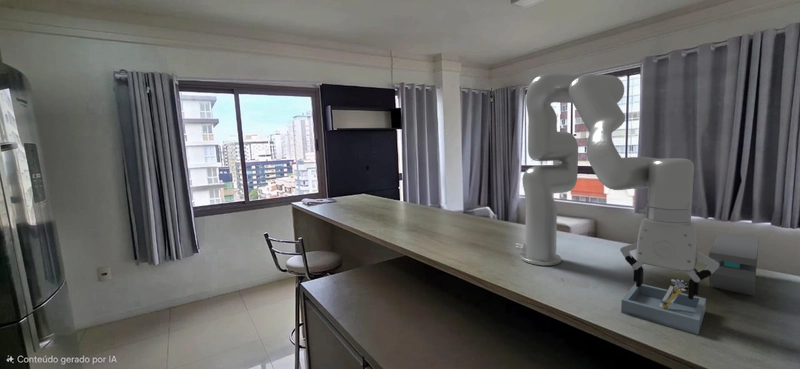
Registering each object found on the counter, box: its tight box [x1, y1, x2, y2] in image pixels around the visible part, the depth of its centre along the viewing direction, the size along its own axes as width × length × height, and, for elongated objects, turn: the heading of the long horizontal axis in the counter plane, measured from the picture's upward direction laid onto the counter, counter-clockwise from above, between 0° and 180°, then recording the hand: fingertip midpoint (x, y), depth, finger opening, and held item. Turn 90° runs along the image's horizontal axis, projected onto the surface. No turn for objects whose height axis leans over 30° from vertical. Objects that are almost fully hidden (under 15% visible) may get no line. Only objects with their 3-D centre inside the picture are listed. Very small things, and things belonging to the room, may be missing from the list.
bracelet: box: [659, 278, 689, 310], centre depth 72 cm, size 7×3×8 cm, turn 120°
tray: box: [620, 282, 707, 336], centre depth 74 cm, size 13×13×3 cm
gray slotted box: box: [708, 232, 760, 297], centre depth 86 cm, size 25×8×11 cm, turn 132°
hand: (664, 290), depth 73 cm, fingers open, 8 cm apart
